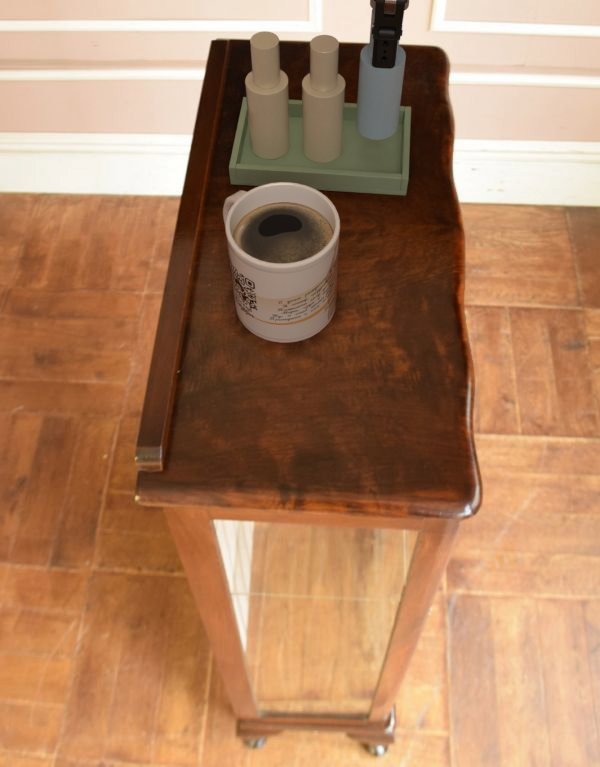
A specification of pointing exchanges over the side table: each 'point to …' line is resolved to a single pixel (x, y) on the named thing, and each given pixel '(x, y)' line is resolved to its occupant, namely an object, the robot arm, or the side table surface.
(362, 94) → the blue bottle
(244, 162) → the tray
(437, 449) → the side table surface
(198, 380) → the side table surface
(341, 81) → the cream bottle
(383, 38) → the robot arm
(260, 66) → the cream bottle
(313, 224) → the mug
